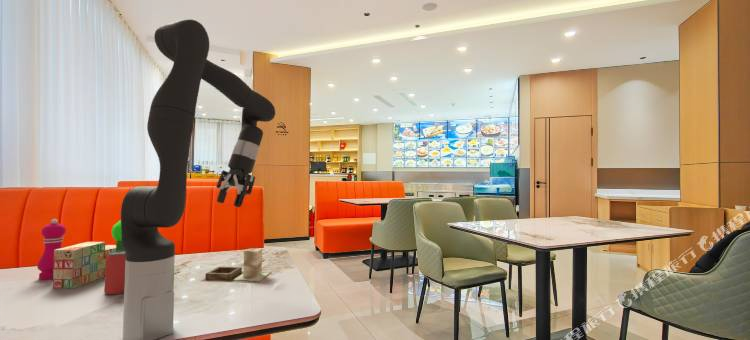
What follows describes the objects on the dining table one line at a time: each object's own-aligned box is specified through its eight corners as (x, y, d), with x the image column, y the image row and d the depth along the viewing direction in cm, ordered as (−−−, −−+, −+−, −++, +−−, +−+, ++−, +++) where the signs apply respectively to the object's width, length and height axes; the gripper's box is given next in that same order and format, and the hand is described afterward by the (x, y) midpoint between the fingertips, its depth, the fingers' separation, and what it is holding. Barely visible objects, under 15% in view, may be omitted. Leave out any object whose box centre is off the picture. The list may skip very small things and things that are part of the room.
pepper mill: (43, 275, 113) (45, 218, 114) (70, 272, 116) (72, 217, 117) (32, 281, 107) (34, 220, 107) (60, 278, 110) (63, 219, 110)
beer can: (99, 293, 97) (101, 253, 97) (125, 286, 103) (126, 248, 103) (110, 297, 94) (112, 255, 94) (136, 290, 100) (137, 251, 100)
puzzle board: (272, 274, 117) (272, 266, 117) (259, 285, 105) (259, 276, 105) (219, 273, 118) (219, 265, 118) (200, 284, 106) (200, 274, 106)
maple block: (261, 274, 114) (262, 248, 114) (256, 278, 109) (256, 251, 110) (249, 273, 114) (249, 248, 114) (243, 277, 110) (244, 251, 110)
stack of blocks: (107, 269, 122) (108, 236, 122) (124, 269, 122) (125, 236, 122) (51, 288, 100) (53, 249, 101) (72, 288, 100) (73, 249, 101)
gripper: (220, 151, 106) (204, 198, 102) (249, 154, 99) (232, 205, 95) (239, 158, 112) (224, 203, 109) (267, 161, 105) (252, 210, 101)
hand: (228, 204), depth 102 cm, fingers open, 8 cm apart
